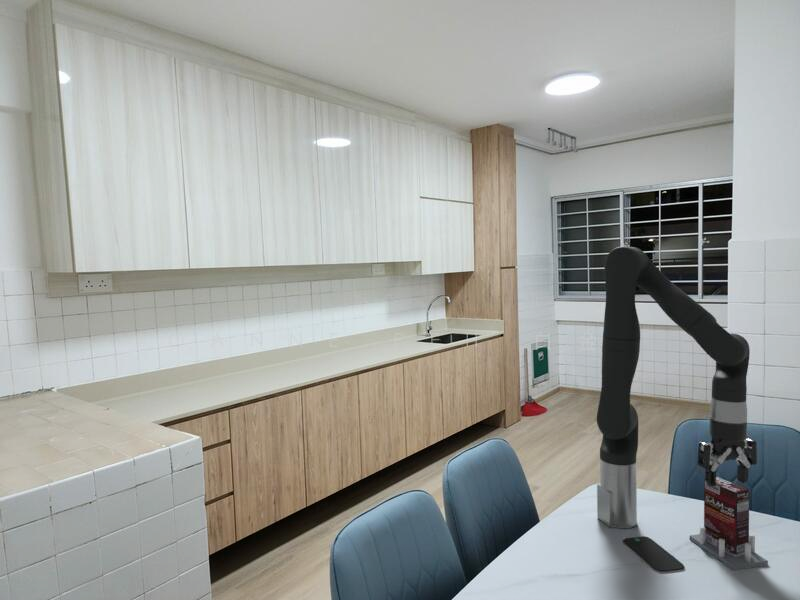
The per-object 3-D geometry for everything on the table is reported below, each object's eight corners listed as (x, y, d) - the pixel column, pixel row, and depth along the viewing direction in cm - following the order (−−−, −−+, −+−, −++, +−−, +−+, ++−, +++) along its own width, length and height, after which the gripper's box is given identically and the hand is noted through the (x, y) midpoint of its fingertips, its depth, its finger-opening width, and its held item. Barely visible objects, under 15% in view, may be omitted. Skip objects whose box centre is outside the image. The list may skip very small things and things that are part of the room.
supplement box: (702, 541, 129) (702, 478, 129) (716, 537, 131) (716, 475, 130) (735, 558, 121) (735, 492, 120) (750, 554, 123) (750, 488, 122)
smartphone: (647, 535, 134) (688, 567, 119) (647, 538, 134) (688, 571, 119) (620, 538, 133) (657, 571, 118) (620, 541, 133) (658, 575, 118)
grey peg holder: (733, 570, 119) (733, 548, 118) (688, 539, 132) (688, 520, 132) (768, 564, 120) (768, 543, 120) (721, 534, 134) (721, 516, 134)
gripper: (741, 411, 129) (739, 474, 130) (690, 415, 127) (689, 479, 128) (767, 419, 122) (765, 487, 123) (714, 424, 119) (712, 492, 120)
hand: (726, 483), depth 125 cm, fingers open, 8 cm apart
